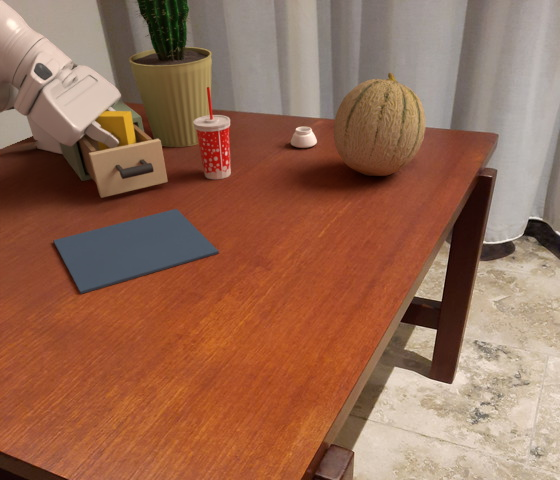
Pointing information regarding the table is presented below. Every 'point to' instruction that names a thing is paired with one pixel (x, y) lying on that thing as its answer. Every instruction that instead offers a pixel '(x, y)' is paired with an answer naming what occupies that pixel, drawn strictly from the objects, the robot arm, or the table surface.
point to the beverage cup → (214, 143)
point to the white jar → (303, 138)
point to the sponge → (117, 127)
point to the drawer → (124, 164)
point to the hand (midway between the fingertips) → (122, 140)
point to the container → (44, 138)
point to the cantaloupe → (379, 127)
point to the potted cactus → (171, 74)
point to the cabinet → (73, 151)
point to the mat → (132, 249)
